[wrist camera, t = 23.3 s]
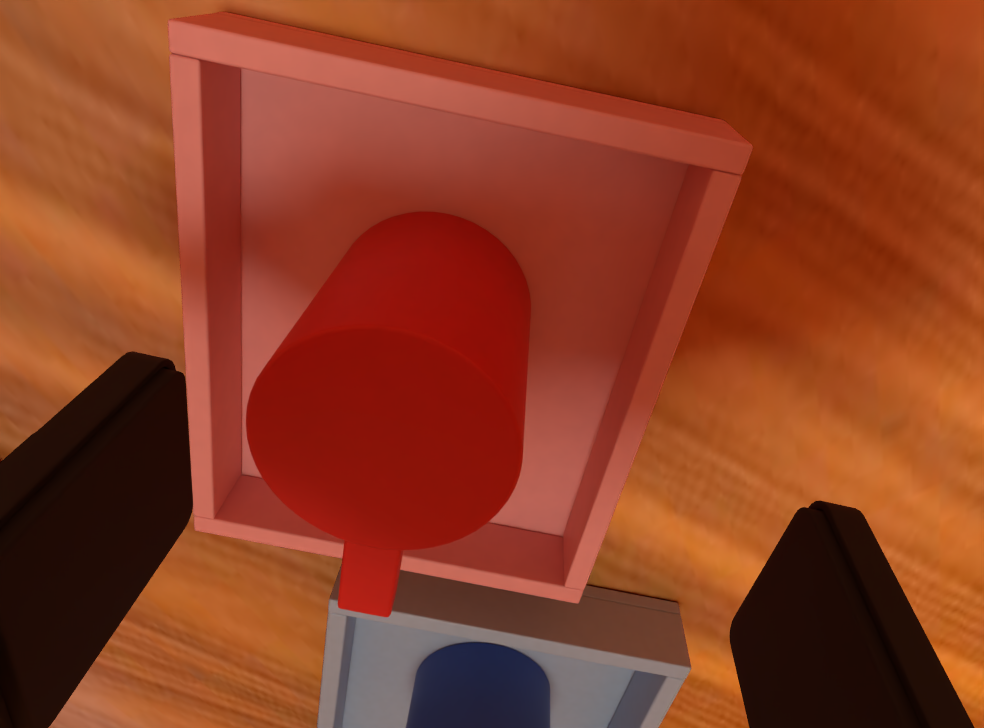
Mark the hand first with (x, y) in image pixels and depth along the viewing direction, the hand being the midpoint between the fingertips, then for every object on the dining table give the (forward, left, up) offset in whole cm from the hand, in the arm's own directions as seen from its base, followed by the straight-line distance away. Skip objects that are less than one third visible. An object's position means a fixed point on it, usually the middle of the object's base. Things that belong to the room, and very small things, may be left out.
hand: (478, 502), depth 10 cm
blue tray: (+17, +2, -8) cm, 19 cm away
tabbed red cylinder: (+2, -2, -8) cm, 8 cm away
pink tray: (+2, -2, -8) cm, 9 cm away
